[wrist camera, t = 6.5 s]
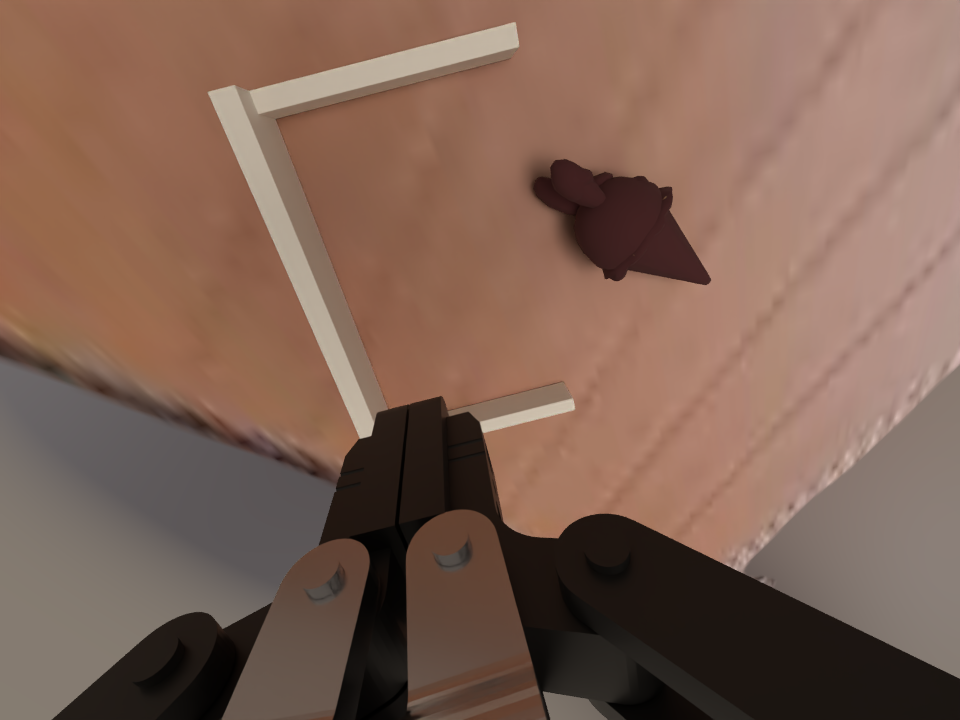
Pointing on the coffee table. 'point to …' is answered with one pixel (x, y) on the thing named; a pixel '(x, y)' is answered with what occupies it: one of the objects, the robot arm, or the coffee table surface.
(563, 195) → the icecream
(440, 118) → the coffee table surface
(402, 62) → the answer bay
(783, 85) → the coffee table surface
